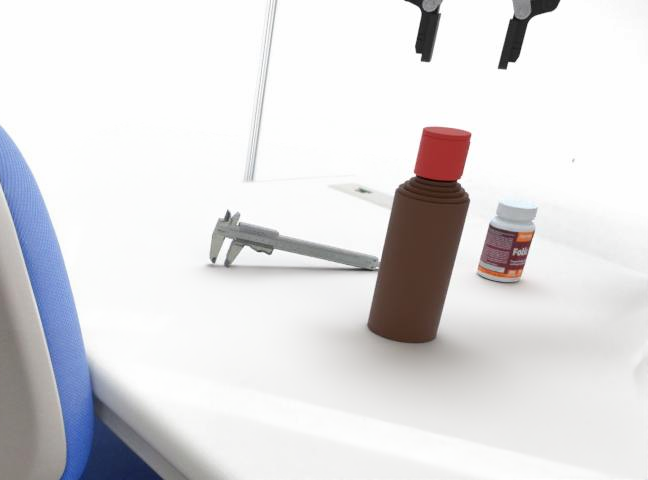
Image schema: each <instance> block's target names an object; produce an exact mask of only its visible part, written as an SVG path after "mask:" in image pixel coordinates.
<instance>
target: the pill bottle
mask: <svg viewBox="0 0 648 480" xmlns="http://www.w3.org/2000/svg"><path fill="white" fill-rule="evenodd" d="M538 208H539V206H538V205H537V204H535V203H532V202H529V201H526V200H520V199H513V198H512V199H511V198H503V199H500V200H499V201H498V204H497V207H496V212H495V214H496V215H495V216H492V218H491V219H490V220H489V223H488V227H487V232H486V235H485V239H484V242H483V247H482V249H481V250H482V251H481V254H480V258H479V261H478V265H477V270H476V272H477V274H478V275H479V276H481V277H483V278H485V279H488V280H490V281H495V282H500V283H514V282H519V281H520V280H521V278H522V275H523V272H524V268H525V266H526V263H527V258H528V255H529V252H530V249H531V246H532V242H533V238H534V235H535V233H536V224H535V223H534V222H533V221H534V220H535V219H536V216H537V212H538Z"/></svg>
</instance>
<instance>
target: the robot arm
mask: <svg viewBox="0 0 648 480" xmlns="http://www.w3.org/2000/svg"><path fill="white" fill-rule="evenodd" d="M403 1H404V2H405V3H406V2H407V3H409V4H412V5H414V6H416V7H417V8H419V10H420V13H421V14H420V15H421V16H420V20H419V24H418V26H419V27H418V30H417V35H416V39H415V44H414V49H415V54H417V55H421V56H420V62H421V63H431V61H432V59H433V54H434V49H435V45H436V40H437V34H438V32H439V31H438V30H439V26H440V21H441V17H442V13H441V12H440V9H441V5H442V3H443V2H444V0H403ZM511 1H512V6H513V14H512V18H509V21H508V25H507V30H506V32H505V36H504V41H503V45H502V48H501V53H500V57H499V60H498V65H497V70H505V71H506V70H507V69H508V66H509V63H514V64H515V63H517V61H518V59H519V58H520V56H521V51H522V47H523V44H524V40H525V36H526V33H527V29H528V26H529V25H528V24H529V22H530V21H531V20H532V19H533V18H534V17H536V16H540V15H544V14H547V13H551V12H554V11H555V10H556V9H557V8H558V6H559V4H560V2H561V0H511Z"/></svg>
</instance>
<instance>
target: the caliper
mask: <svg viewBox="0 0 648 480" xmlns="http://www.w3.org/2000/svg"><path fill="white" fill-rule="evenodd" d="M240 218H241V213H240V212H239V211H236V213H234V214H233V215H232V213H231V211H230V210H229V209H228V208H227V209H226V213H225V215H224V218H222V217H218V219H217V221H216V224H215V227H214V228H213V231H212V234H211V241H210V249H209V260H210V262H211V263H212V264H214V265H215V264H216V262H217V260H218V257H219V254H220V252H221V249H222V246H223V244H224V242H225V239H226V238H227V239H228V240H229V239H230V240H231V242H230V245H229V247H228V250H227V252H226V254H225V259H224V262H223V263H224V266H225V267H230V266H231V265H232V264H233V263H234V261H235V260H236V258H237V257H238V256H239V254H240V253H241V251H242V250H243V249H244V247H245V246H246V247H249V248H250V249H251V250H253V251H255V252H256V253H264V254H266V255H268V256H271V255H272V254H273V252H274V250H279V251H283V252H287V253H292V254H297V255H302V256H305V257H310V258H315V259H319V260H323V261H324V260H325V261H327V262H334V263H337V264H342V265H347V266H350V267H355V268H359V269H364V270H368V271H373V270H374V271H375V270H376V268H379V266H380V261H379V258H378V257H377V256H375V255H372V254H366V253H363V252H358V251H353V250H350V249H345V248H340V247H336V246H333V245H327V244H323V243H317V242H314V241H309V240H305V239H300V238H295V237H292V236H287V235H282V234H280V232H279V231H278V230H277V229H274V228H273V229H272V228H269V227H266V226H265V227H264V226H260V225H256V224H252V223H249V222H244V221H239V220H240ZM374 271H373V272H374Z"/></svg>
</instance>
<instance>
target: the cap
mask: <svg viewBox="0 0 648 480" xmlns="http://www.w3.org/2000/svg"><path fill="white" fill-rule="evenodd" d="M471 139H472V132H470V131H468V130H464V129H461V128H455V127H446V126H424V127H423V128H422V132H421V137H420V141H419V145H418V150H417V155H416V159H415V163H414V169H413V174H415V176H416V175H418V176H421V177H424V178H428V179H434V180H443V181H455V180H457V181H459V180H461V179H462V177H463V176H464V175H463V174H464V170H465V167H466V162H467V158H468V154H469V150H470V145H471Z"/></svg>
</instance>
